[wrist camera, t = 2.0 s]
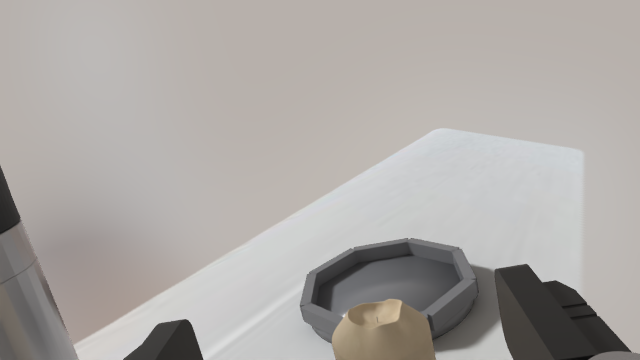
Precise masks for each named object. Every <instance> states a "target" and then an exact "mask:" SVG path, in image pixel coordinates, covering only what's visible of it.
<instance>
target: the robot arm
mask: <svg viewBox="0 0 640 360" xmlns="http://www.w3.org/2000/svg"><path fill="white" fill-rule="evenodd" d="M495 282H496V289H497V295H498V302H499V309H500V315H501V322H502V328H503V332H504V336H505V340H506V343H507V346H508V349H509V351H510V353H511V355H512V357H513V359H514V360H640V354H637V353H632V352H631V351H630V350H629V349H628V347H627V346H626V345H625V344H624V343H623V342H622V341H621V340H620V339H619V338H618V336H617V335H616V334H615V333H614V332H613V331H612V330H611V329H610V328H609V327H608V326H607V324H605V322H604V321H603V320H602V319H601V318H600V317H599V316H597V314H596V312H595V311H594V310H593V309H592V308H591V307H590V306H589V305H587V302H586V301H585V300H584V299H583V298H582V297H581V296H580V295H579V294H578V293H577V291H576V290H574V289H572V288H570V287H568V286H566V285H564V284H562V283H560V282H558V281H556V280H555V281H549V282H543V283H542V282H541V280H540V279H539V278H538V277H537V275H536V274H535V273H534V272H533V270H532V269H531V268H530V267H529V265H527V264H523V265H517V266H511V267H505V268H499V269H495ZM0 360H79V359H78V356H77V354H76V351H75V349H74V346H73V344H72V342H71V339H70V337H69V334H68V332H67V329H66V327H65V325H64V322H63V320H62V317H61V315H60V312H59V310H58V308H57V305H56V303H55V300H54V298H53V295H52V293H51V290H50V288H49V285H48V283H47V280H46V278H45V276H44V273H43V271H42V268H41V266H40V263H39V261H38V259H37V256H36V254H35V252H34V249H33V247H32V244H31V242H30V240H29V237H28V235H27V232H26V230H25V227H24V225H23V223H22V220H21V219H20V215H19V213H18V211H17V208H16V206H15V203H14V201H13V198H12V196H11V193H10V190H9V188H8V185H7V182H6V179H5V177H4V174H3V171H2V169H1V166H0ZM123 360H203V357H202V354H201V351H200V348H199V345H198V342H197V339H196V336H195V333H194V330H193V327H192V325H191V323H190V322H189V321H188V320H186V319H184V320H177V321H171V322H165V323H160V324H158V325H157V326H156V327H155V328H154V329H153V331H152V332H151V333H150V334H149V336H148V337H147V338H146V340H145V341H144V342H143V344H142V345H140V346H139V347H138V348H137V349H135V350H134V351H133V352H132V353H130V354H129V355H128V356H127V357H125V358H124V359H123Z"/></svg>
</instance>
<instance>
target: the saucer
mask: <svg viewBox="0 0 640 360" xmlns="http://www.w3.org/2000/svg"><path fill="white" fill-rule="evenodd" d="M477 296H478V286H477V279H476V276H475V275H474V273H473V271H472V269H471V267H470V265H469V263H468V261H467V259H466V257H465V255H464V253H463V251H462V249H459V247H454V246H449V245H444V244H439V243H434V242H429V241H424V240H419V239H414V238H411V239H409V240H408V238H405V239H400V240H394V241H388V242H382V243H376V244H370V245H364V246H359V247H354V249H351V248H350V249H349V250H347V251H345V252H343V253H342V254H340V255H338V256H337V257H335V258H333V259H331V260H330V261H328V262H326V263H324V264H323V265H321V266H319V267H318V268H316V269H314V270H312V271H311V272H309V274H307V277H306V282H305V286H304V290H303V294H302V298H301V303H300V308H301V312H302V316H303V320H304V321H305V322H306V323H308V324H310V325H311V326H312V328H313V329H314V331H315V332H316V333H317V334H318V335H319V336H320V337H321V338H323V339H324V340H326V341H328V342H330V343H332V336H333V333H334V331H335V329H336V327H337V326H338V325H339V323H340V322H341V321H342V319H343V318H344V316H345V315H346V314H347V312H348V310H349V309H351V308H353V307H355V306H357V305H359V304H363V303H374V302H383V301H386V300H388V299H397V300H401V301H402V302H404V303H405V304H406V305H408V306H410V307H412V308H413V309H415V310H417V311H418V312H420V313H421V314H423V315H424V316H425V317H426V319H427V320H428V322H429V325H430V331H431V336H432V339H435V338H437V337H439V336H441V335H443V334H445V333H446V332H448V331H450V330H451V329H453V328H454V327H455V326H456V325H458V324H459V323H460V322H461V321H462V320H463V319H464V318H465V317H466V316H467V314H468V313H469V311H470V310H471V307H472V305H473V301H474V298H476V297H477Z"/></svg>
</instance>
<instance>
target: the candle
mask: <svg viewBox="0 0 640 360" xmlns="http://www.w3.org/2000/svg"><path fill="white" fill-rule="evenodd" d="M332 346H333V350H334V354H335V358H336V360H436V358H435V352H434V347H433V341H432V336H431V331H430V325H429V322H428V320H427V319H426V317H425V316H424V315H423V314H421V313H420V312H418V311H417V310H415V309H413V308H412V307H410V306H408V305H406V304H405V303H404V302H402V301H401V300H397V299H388V300H386V301H383V302H374V303H363V304H359V305H357V306H355V307H353V308H351V309H349V310H348V312H347V314H346V315H345V316H344V318H343V319H342V321H341V322H340V323H339V325H338V326H337V327H336V329H335V331H334V333H333V336H332Z"/></svg>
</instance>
